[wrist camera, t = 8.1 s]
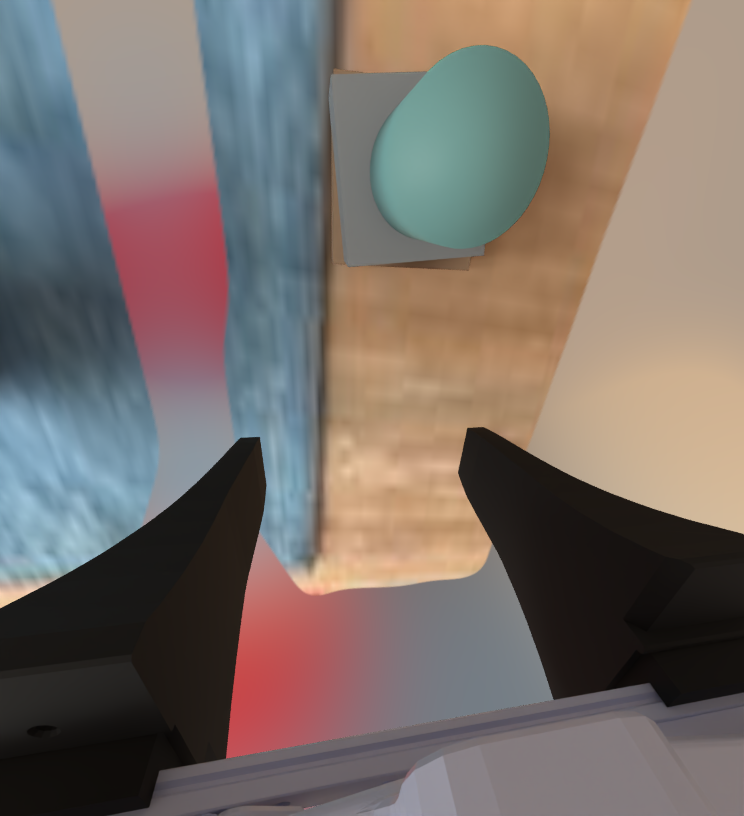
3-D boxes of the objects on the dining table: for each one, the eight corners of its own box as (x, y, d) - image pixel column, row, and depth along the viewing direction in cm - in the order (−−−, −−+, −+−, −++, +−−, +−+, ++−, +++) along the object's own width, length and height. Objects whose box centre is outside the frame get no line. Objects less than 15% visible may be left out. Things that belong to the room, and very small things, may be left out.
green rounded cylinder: (348, 200, 13) (364, 195, 10) (411, 58, 11) (456, -8, 8) (442, 260, 15) (483, 275, 11) (509, 145, 13) (581, 123, 10)
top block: (343, 260, 16) (348, 267, 14) (328, 97, 13) (331, 74, 11) (462, 251, 17) (483, 255, 15) (472, 92, 14) (501, 69, 12)
